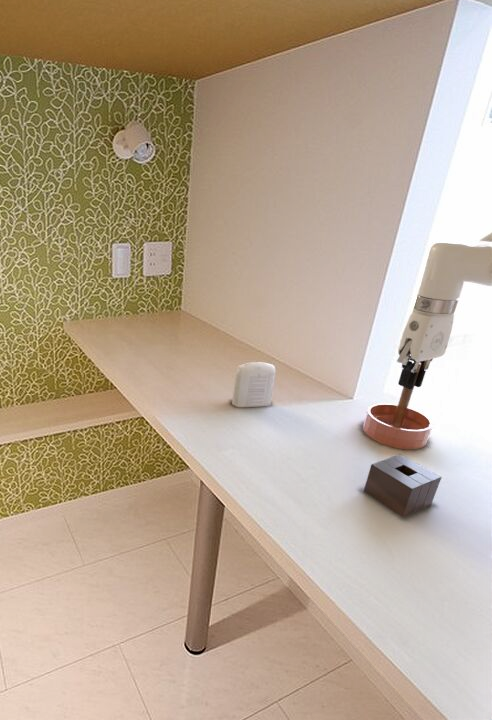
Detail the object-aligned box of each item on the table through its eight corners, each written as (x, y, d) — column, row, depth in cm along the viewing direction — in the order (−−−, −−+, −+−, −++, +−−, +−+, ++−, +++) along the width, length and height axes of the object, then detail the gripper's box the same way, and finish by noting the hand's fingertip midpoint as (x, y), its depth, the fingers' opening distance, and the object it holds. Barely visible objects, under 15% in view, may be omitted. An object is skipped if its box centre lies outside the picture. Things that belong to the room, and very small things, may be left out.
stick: (398, 423, 103) (418, 361, 96) (402, 428, 101) (423, 364, 94) (390, 423, 103) (409, 360, 96) (394, 427, 101) (413, 364, 95)
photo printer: (266, 401, 118) (272, 358, 112) (272, 408, 114) (279, 365, 109) (229, 403, 117) (234, 360, 111) (234, 410, 113) (240, 366, 107)
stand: (390, 483, 86) (400, 453, 83) (430, 508, 79) (442, 476, 76) (362, 494, 82) (371, 464, 79) (401, 521, 76) (412, 489, 73)
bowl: (408, 424, 107) (414, 404, 105) (437, 454, 95) (445, 432, 93) (353, 422, 108) (358, 402, 106) (375, 451, 96) (381, 429, 94)
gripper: (427, 313, 84) (401, 399, 92) (476, 305, 90) (447, 386, 98) (392, 304, 90) (370, 385, 98) (440, 297, 96) (416, 374, 104)
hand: (409, 385), depth 98 cm, fingers closed on stick, 2 cm apart
